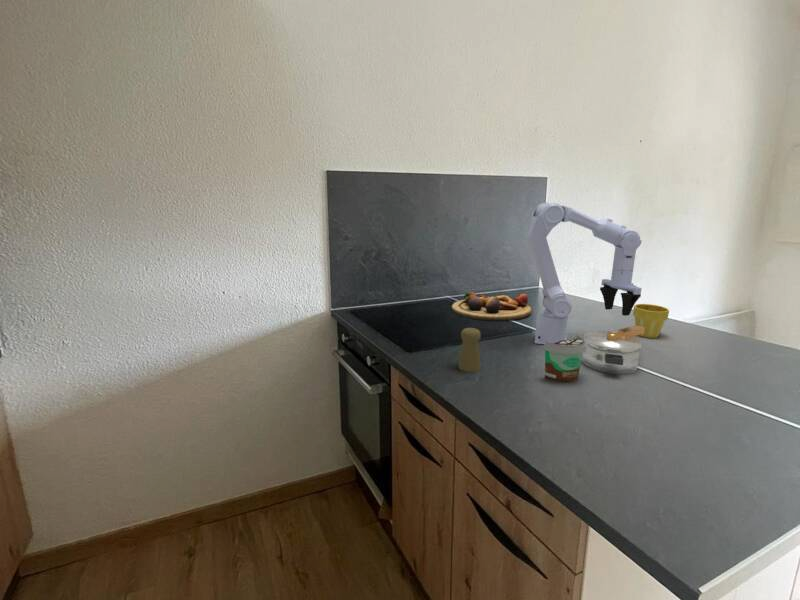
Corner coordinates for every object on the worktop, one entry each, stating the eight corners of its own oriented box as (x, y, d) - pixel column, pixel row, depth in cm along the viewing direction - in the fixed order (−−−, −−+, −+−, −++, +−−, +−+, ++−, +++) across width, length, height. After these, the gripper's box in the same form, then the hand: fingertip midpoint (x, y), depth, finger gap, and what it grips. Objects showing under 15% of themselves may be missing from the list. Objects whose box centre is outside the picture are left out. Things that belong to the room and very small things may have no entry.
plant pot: (669, 341, 140) (674, 312, 138) (635, 338, 142) (639, 310, 140) (658, 331, 150) (662, 304, 148) (626, 329, 152) (629, 302, 150)
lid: (619, 356, 109) (620, 345, 108) (571, 339, 121) (572, 329, 120) (664, 343, 119) (666, 333, 118) (616, 329, 131) (617, 320, 130)
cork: (482, 365, 118) (484, 327, 116) (478, 373, 113) (480, 333, 110) (460, 362, 120) (462, 324, 118) (455, 370, 115) (457, 330, 112)
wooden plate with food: (529, 304, 188) (530, 286, 186) (534, 324, 157) (535, 302, 155) (455, 301, 195) (456, 283, 193) (447, 319, 164) (447, 298, 163)
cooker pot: (642, 381, 109) (646, 359, 107) (583, 373, 113) (585, 352, 112) (630, 353, 129) (633, 334, 127) (580, 347, 133) (582, 328, 132)
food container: (559, 388, 105) (563, 349, 102) (540, 378, 110) (543, 341, 108) (593, 378, 110) (598, 341, 108) (574, 370, 115) (578, 335, 113)
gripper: (652, 273, 126) (645, 317, 129) (616, 265, 139) (611, 305, 143) (632, 273, 124) (626, 318, 127) (598, 266, 138) (593, 306, 141)
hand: (616, 312), depth 135 cm, fingers open, 7 cm apart
